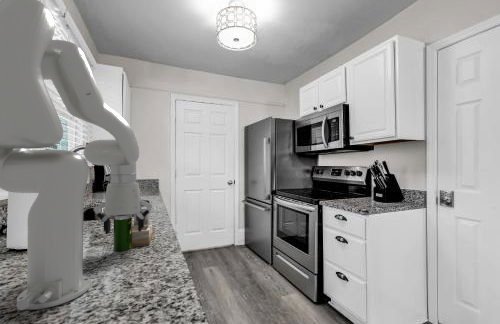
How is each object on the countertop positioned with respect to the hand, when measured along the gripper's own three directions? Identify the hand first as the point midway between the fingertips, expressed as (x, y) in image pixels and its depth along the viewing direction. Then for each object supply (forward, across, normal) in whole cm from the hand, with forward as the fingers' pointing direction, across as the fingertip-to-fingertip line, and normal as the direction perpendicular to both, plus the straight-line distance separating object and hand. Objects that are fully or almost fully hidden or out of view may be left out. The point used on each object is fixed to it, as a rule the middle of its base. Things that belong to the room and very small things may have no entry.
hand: (124, 231), depth 79 cm
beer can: (+6, 0, -1) cm, 6 cm away
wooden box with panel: (+7, +3, +11) cm, 13 cm away
